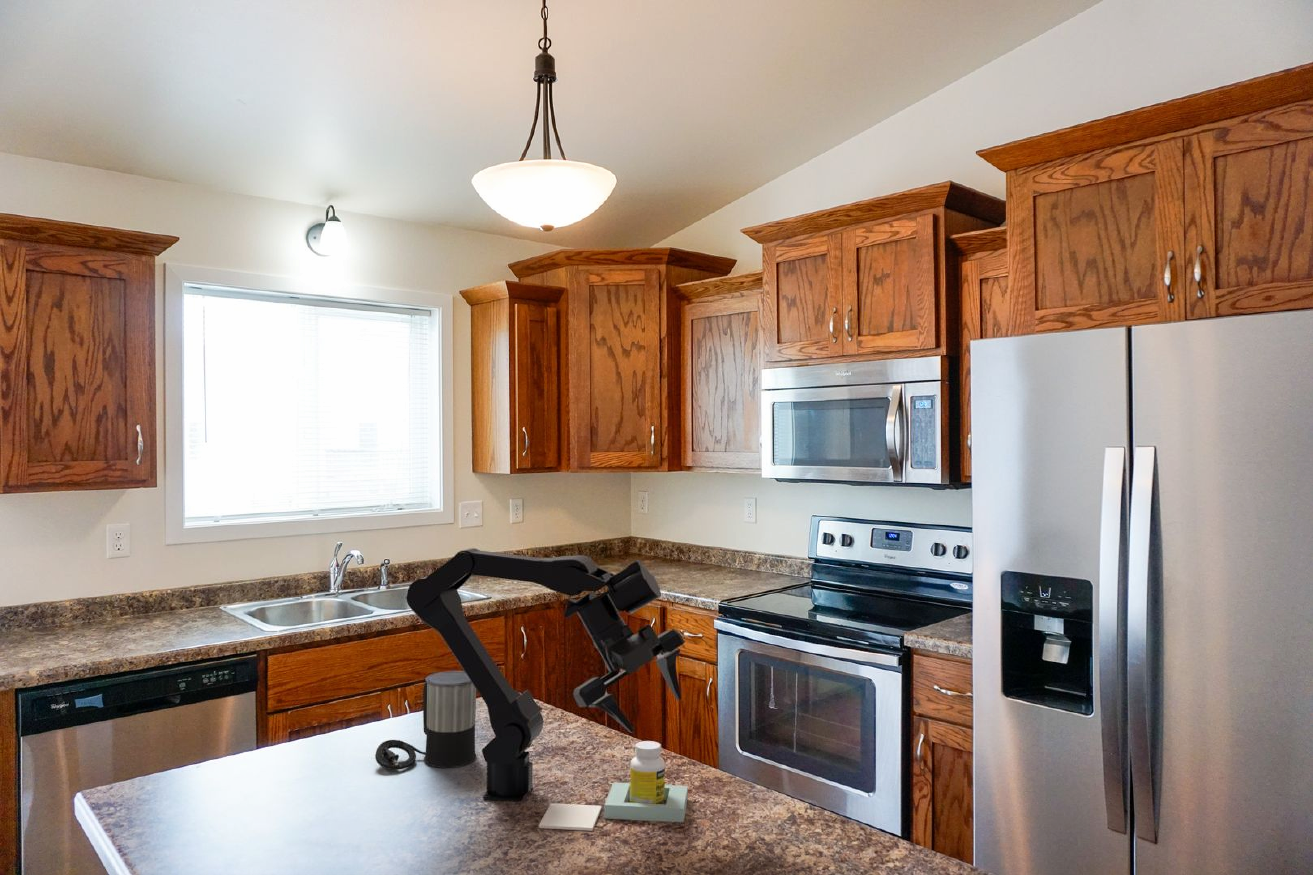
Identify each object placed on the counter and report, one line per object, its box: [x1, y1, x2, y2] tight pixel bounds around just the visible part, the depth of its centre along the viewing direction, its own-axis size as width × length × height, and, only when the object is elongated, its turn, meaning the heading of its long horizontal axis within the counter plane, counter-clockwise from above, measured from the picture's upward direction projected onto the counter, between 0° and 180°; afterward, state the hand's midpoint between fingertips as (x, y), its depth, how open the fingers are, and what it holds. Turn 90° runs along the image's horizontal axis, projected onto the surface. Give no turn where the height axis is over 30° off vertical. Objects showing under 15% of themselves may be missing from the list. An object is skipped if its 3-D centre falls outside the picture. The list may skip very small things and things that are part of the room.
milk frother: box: [374, 670, 477, 771], centre depth 153 cm, size 14×16×15 cm
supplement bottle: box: [629, 740, 666, 805], centre depth 133 cm, size 5×5×10 cm
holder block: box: [603, 781, 689, 823], centre depth 133 cm, size 12×9×2 cm
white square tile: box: [538, 803, 603, 832], centre depth 129 cm, size 8×8×1 cm
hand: (656, 715), depth 134 cm, fingers open, 9 cm apart
